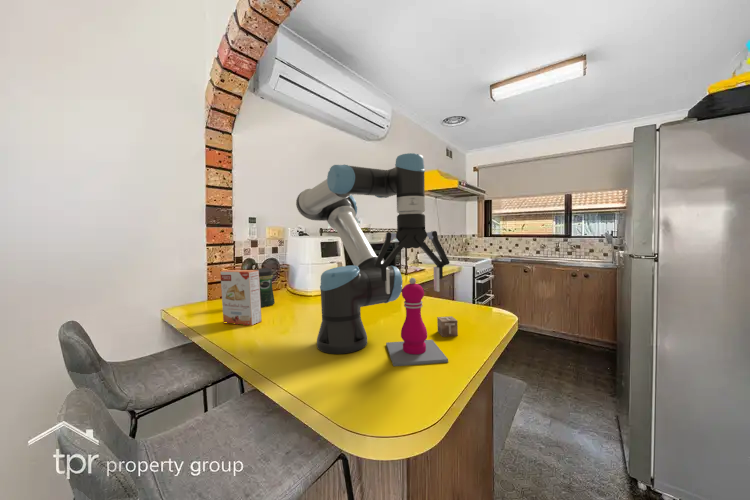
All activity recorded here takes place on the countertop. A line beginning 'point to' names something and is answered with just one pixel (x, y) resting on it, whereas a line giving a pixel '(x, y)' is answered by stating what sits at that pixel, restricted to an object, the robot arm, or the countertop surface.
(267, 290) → the coffee jar
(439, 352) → the grey mat
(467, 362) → the countertop surface
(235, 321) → the cracker box
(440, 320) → the marked cube
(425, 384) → the countertop surface
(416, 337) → the pepper mill
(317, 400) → the countertop surface
